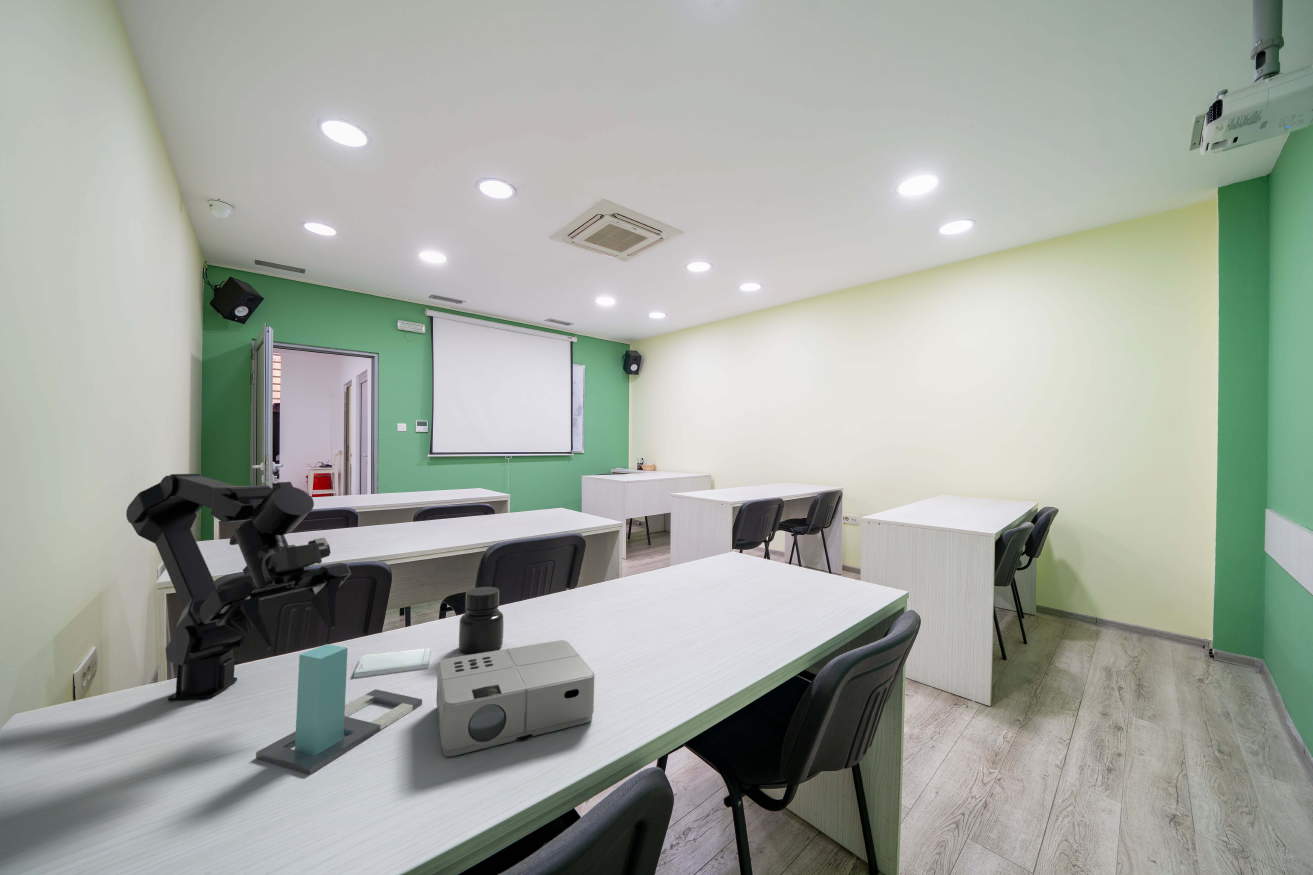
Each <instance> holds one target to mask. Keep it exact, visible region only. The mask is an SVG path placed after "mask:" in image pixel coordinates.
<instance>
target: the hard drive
mask: <svg viewBox="0 0 1313 875" xmlns="http://www.w3.org/2000/svg"><path fill="white" fill-rule="evenodd" d="M431 655H432V647H430V648H429V647H428V648H420V649H419V648H418V649H410V650H401V651H392V652H384V653H374V654H373V653H372V654H366V655H365V654H364V655H362V657H361V658H360V660H359V662H358V664H357V666H356V668H355V670H354V671H353V679H355V678H357V679H358V678H363V677H372V676H377V675H378V676H379V675H386V674H392V673H393V674H394V673H400V672H401V673H402V672H408V671H416V670H422V669H423V670H424V669H429V667H430V661H431Z"/></svg>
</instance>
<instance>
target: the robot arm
mask: <svg viewBox="0 0 1313 875" xmlns="http://www.w3.org/2000/svg"><path fill="white" fill-rule="evenodd" d="M314 506H315V502H314V499H313V497H312V496H311V495H309V494H308V493H307V492H306V491H304V490H303V489H300V488H298V487H294V486H293V483H292V481H280V482H278V481H277V482H276V484H274V486H272V487H271V486H270V485H234V484H231V483H227V482H225V481H220V480H218V479H214V478H211V477H207V476H205V475H204V474H199V473H171V474H170V475H165V476H164V477H163V478H162V479H161V480H160V482H159V483H156V484H154V485H153V486H151V487H147V488H146V489H144V490H141V491H140V492H139V493H137V495H135V497H134V498H133V499H132V500H131V502H130V503H129V504H128V507H127V508H126V513H125V514H126V520H127V522H128V523H129V524H131V526H132V528H133V529H134V531H135V533H136V534H137V535H138V537H141V538H143V539H145V540H146V541H147V540H148V541H149V542H152V543H153V544H155V546H156V548H157V550H158V553H159V555H160V557H161V560H162V562H163V565H164V567H165V570H166V572H167V574H168V576H169V579H170V581H171V583H172V586H173V588H174V592H175V594H176V596H177V598H178V601H179V603H180V605H181V607H182V613H181V615H180V617H179V618H178V619H179V620H178V622H177V624H176V627H175V629H176V633H175V635H174V636H173V637H172V638H171V640H170V641H169V642H168V644H167V645H166V647H165V657H166V658H165V659H166V661H167V662H170V663H172V664H175V665H176V666H177V668H176V669H177V670H176V683H175V692H174V693H172V694H170V695H169V696H167V701H176V700H177V701H179V700H180V701H182V700H194V699H196V700H197V699H198V700H199V699H209V698H214V697H215V696H216V695H218V694H219V693H221V692H222V691H224V690H225V689H227V688H228V687H230V686H232V685H233V684H234V683H235V682H237V681H238V677H235V666H236V663H235V662H236V659H235V658H234V657H233V650H236V649H240V648H243V646H244V643H245V639H246V638H247V639H249V640H250V641H251V642H254V643H255V644H257V646H259V647H260V648H262V649H263V650H264V651H267V650H270V649H271V647H272V646H273V643H272V640H271V636H270V635H271V634H270V633H269V631H268V628H267V626H266V624H265V621H264V620H263V617H262V615H261V613H260V601H263V600H268V599H272V598H276V597H279V596H284V595H288V594H292V593H296V592H301V591H305V590H307V591H308V594H310V595H312V597H311V598H310V600H309V601H310V602H311V603H312V605H313V607H314V608H315V610H316V611H317V613H318V615H319V617H320V618H321V620H322V621H323V623H324V624H325V625H326V627H327V628H328V629H329V630H332V629H334V628H335V626H336V623H337V622H336V621H337V620H336V619H337V618H336V616H337V615H336V614H337V612H336V609H337V608H336V607H337V604H336V602H337V595H338V590H339V588H340V586H342V585H343V584H344V583H345V581H346V580H347V579H348V578H349V577H350V576H351V575H352V571H351V570H350V568H349V566H348V565H347V563H344V562H337V563H331V564H325V565H322V566H321V567H320V568H318V570H317V571H315V573H313V574H312V575H310V576H305V577H303V575H304V574H307V573H308V572H309V571H310V570H311V568H310V566H312V565H315V564H322V562H323V561H322V559H324V558H328V557H329V556H330V555H331V547H330V544H329V542H328V540H327V539H326V538H325V537H320V538H319V537H318V538H315V539H313V540H309V541H308V543H307V544H301V545H295V544H290V545H289V544H288V541H287V538H286V536H285V535H287V534H290V533H291V532H293V531H294V529H296V527H298V525H299V524H300V523H301V522H302V521H303V520H304V519H305V518H306V516H308V514H309V513H310V512H311V511H312V510H313V509H314ZM202 507H207V508H209V509H210V515H211V516H213V517H214V518H215V519H216V520H219V521H220V522H222V523H223V524H224V523H226V524H227V523H235V522H236V523H237V522H242V524H240V525H239V526H238V527H235V529H234V533H233V534H232V535H231V537H230V539H229V545H230V546H236V545H238V547H239V550H240V552H241V554H242V557H243V560H244V562H245V565H246V566H245V567H244V568H243V569H242V572H243V574H244V576H248V575H250V576H251V579H252V582H253V584H254V586H255V587H254V586H253V584H252V583H251V582H249V581H243V582H237V583H233V584H227V585H222V586H219V587H217V585H216V583H215V580H214V578H213V576H212V574H211V571H210V569H209V567H208V565H207V563H206V560H205V558H204V556H203V554H202V551H201V549H200V547H199V545H198V542H197V540H196V538H195V535H194V534H193V531H192V527H193V525H194V523H195V521H196V519H197V516H198V514H197V513H198V512H199V511H201V510H200V509H201V508H202Z"/></svg>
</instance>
